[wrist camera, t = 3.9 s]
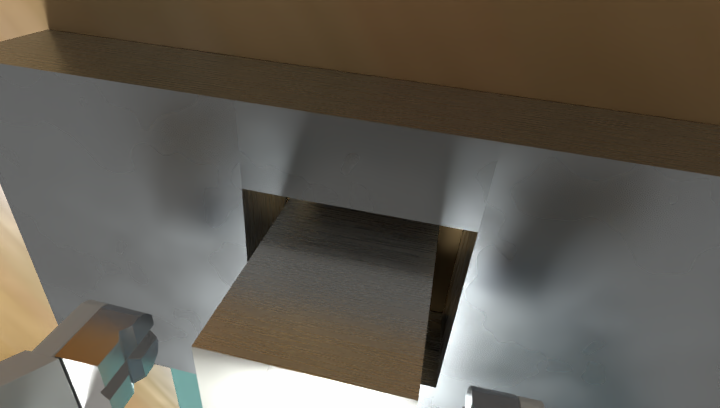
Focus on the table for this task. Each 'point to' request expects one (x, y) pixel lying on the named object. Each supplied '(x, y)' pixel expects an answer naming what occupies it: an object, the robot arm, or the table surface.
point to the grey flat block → (375, 209)
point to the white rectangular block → (323, 314)
